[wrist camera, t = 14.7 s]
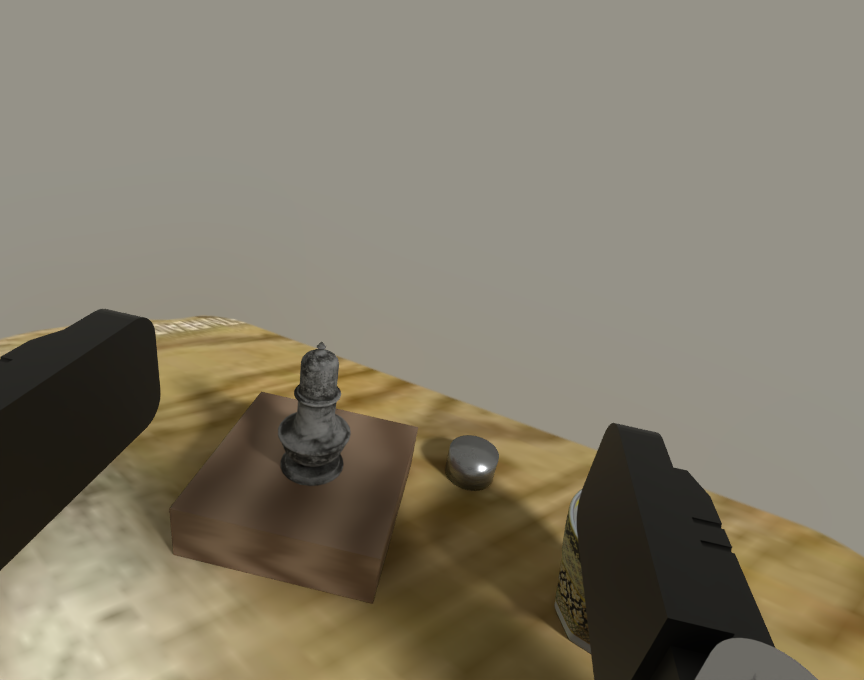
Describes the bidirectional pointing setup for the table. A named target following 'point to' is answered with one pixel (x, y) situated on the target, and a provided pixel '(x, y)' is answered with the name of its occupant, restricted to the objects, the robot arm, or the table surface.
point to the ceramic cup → (572, 584)
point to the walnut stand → (296, 504)
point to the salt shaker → (315, 423)
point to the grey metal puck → (471, 462)
